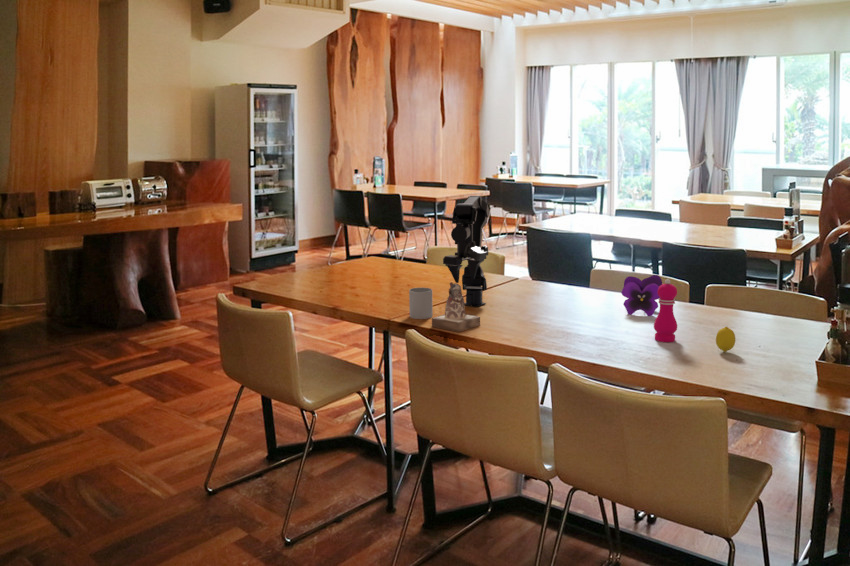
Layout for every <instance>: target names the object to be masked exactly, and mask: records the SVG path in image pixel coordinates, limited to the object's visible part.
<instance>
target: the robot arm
mask: <svg viewBox="0 0 850 566" xmlns="http://www.w3.org/2000/svg"><path fill="white" fill-rule="evenodd" d="M489 216H490V209H489V205H488V203H487V202H486V201H484V199H482V196H480V195H469V196H468V197H467V199H466V200H465V201H464V203H463V202H462V203H456V205H455V206H454V208H453V213H452V221H451V224H453V225H454V224H455V227H453V228H452V230H451V232H450V236H451V238H452V240H453V241H454V245H456V251H457V252H454V255H453V254H450V255H449V254H448V255H445V256H444V257H443V258H442V262H443V263H442V265H445V267H446V268H448V270H449V272H450V273H451V275H452V278H453V280H454V282H455V283H457V284H459V283H460V273H461V272H460V270H461V268H462V267H463V261H467V265H466V266H465V267H464V269H463V274H462V276H461V282H462V285H461V287H462V291H465V292H466V294H465V302H464V306H467V307H468V306H469V307H474V308H476V307H477V308H478V307H480V306H484V305H486V302H483V291H487V290H488V284H487V278H486V276H485V274H484V273H485V272H484V271H483V268H482V266H481V263H483V262H484V261H485V260H486V259H487V256H489V247H488V246H487V245H482V244H483V243H482V241H483V230H484V227H485V226H486V224H487V223H488V218H489Z"/></svg>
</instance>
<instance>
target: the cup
mask: <svg viewBox="0 0 850 566" xmlns="http://www.w3.org/2000/svg"><path fill="white" fill-rule="evenodd" d="M408 294H409V295H408V297H409V303H408V304H409V318H411V319H414V320H416V319H417V320H428V319H432V318H433V289H432V288H430V287H413V288H409V290H408Z"/></svg>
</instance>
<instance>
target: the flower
mask: <svg viewBox="0 0 850 566" xmlns="http://www.w3.org/2000/svg"><path fill="white" fill-rule="evenodd" d="M662 284H663V280H662V278H661V276H660V275H658V274H653V275H650V276H649V277H646V278H643V279H642V280H641V279H640V278H638V277H635V276H632V275H631V276H630V275H629V276H627V277H626V278H625V279H624V282H623V288H622V290H621V293H620V294H621V295H622V296H623V297H624V298H626V299H625V300H624V302H623V303H622V304H623V306H624V308H625V311H626V312H627V314H628V315H633V314H634V313H636V311H639V310H641V311H642V312H644V314H646V316H647V317H652V316H653V315H654V313H655V311H656V310H657V309H658V308H659V302H657V301H656V300H659V298H660V297H659V296H658V293H657V291H658V288H659V286H661V285H662Z"/></svg>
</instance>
